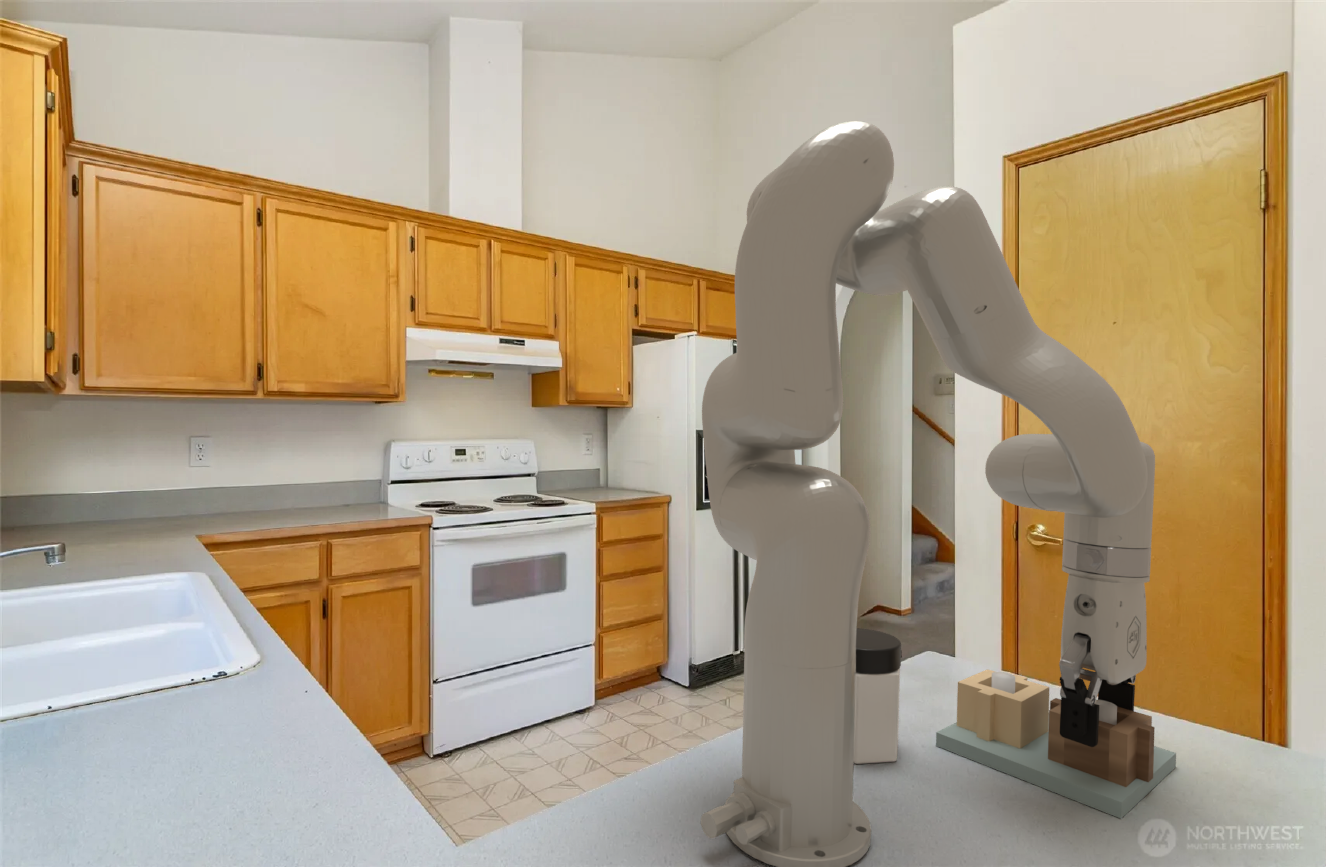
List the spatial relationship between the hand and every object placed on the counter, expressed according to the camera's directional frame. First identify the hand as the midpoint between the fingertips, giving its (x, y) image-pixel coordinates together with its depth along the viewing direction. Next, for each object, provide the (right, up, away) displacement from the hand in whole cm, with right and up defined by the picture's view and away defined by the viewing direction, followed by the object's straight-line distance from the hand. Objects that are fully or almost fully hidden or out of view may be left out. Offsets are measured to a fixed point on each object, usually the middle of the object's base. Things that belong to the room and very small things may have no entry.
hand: (1097, 729), depth 70 cm
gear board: (-2, -5, +5) cm, 7 cm away
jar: (-22, -5, +6) cm, 24 cm away
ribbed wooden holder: (0, -4, 0) cm, 4 cm away
